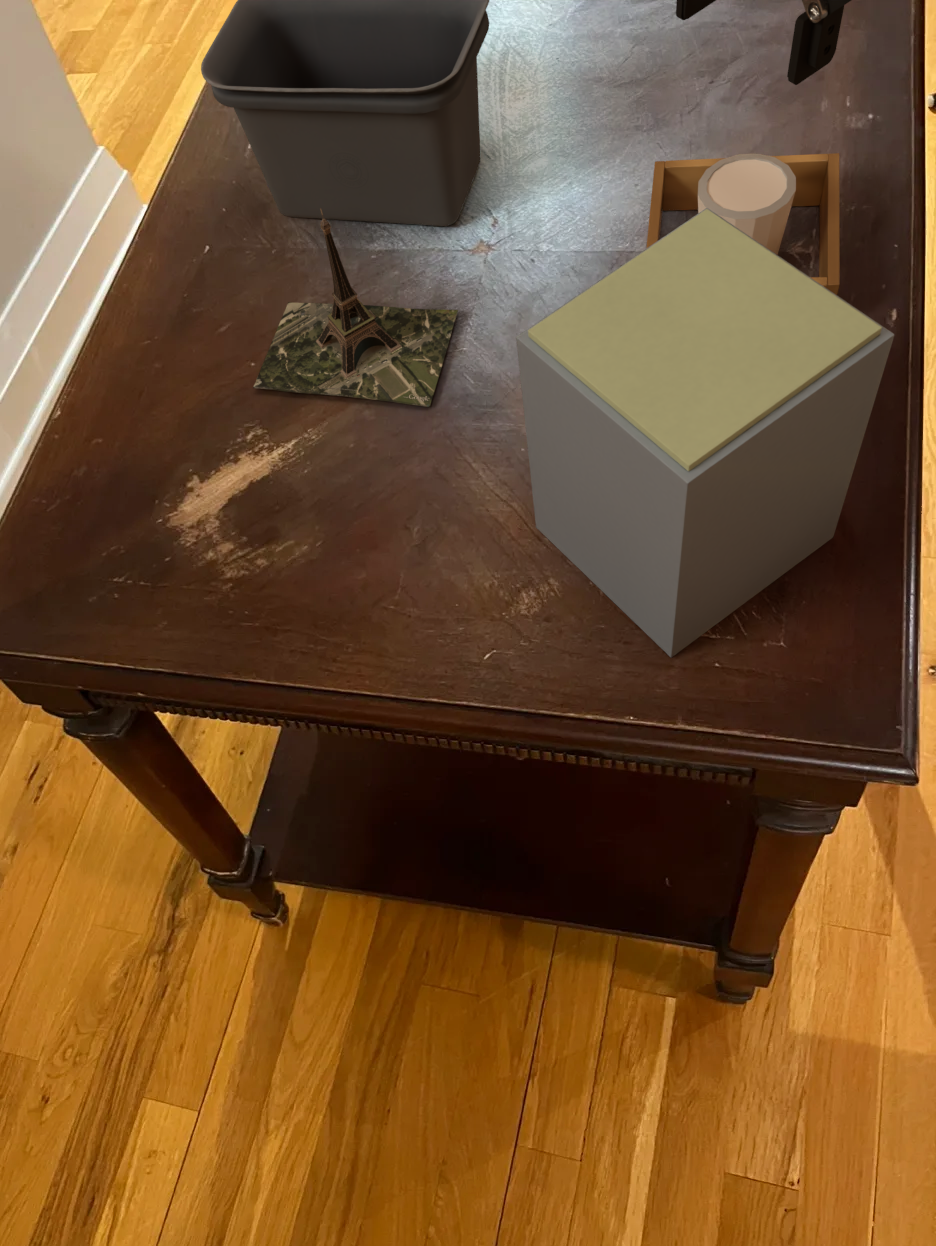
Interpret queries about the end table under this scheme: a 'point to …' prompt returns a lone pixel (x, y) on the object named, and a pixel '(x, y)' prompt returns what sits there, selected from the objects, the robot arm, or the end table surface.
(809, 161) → the wooden frame
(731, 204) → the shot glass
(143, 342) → the end table surface
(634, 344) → the mat
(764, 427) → the block
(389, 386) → the eiffel tower figurine
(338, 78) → the storage bin
